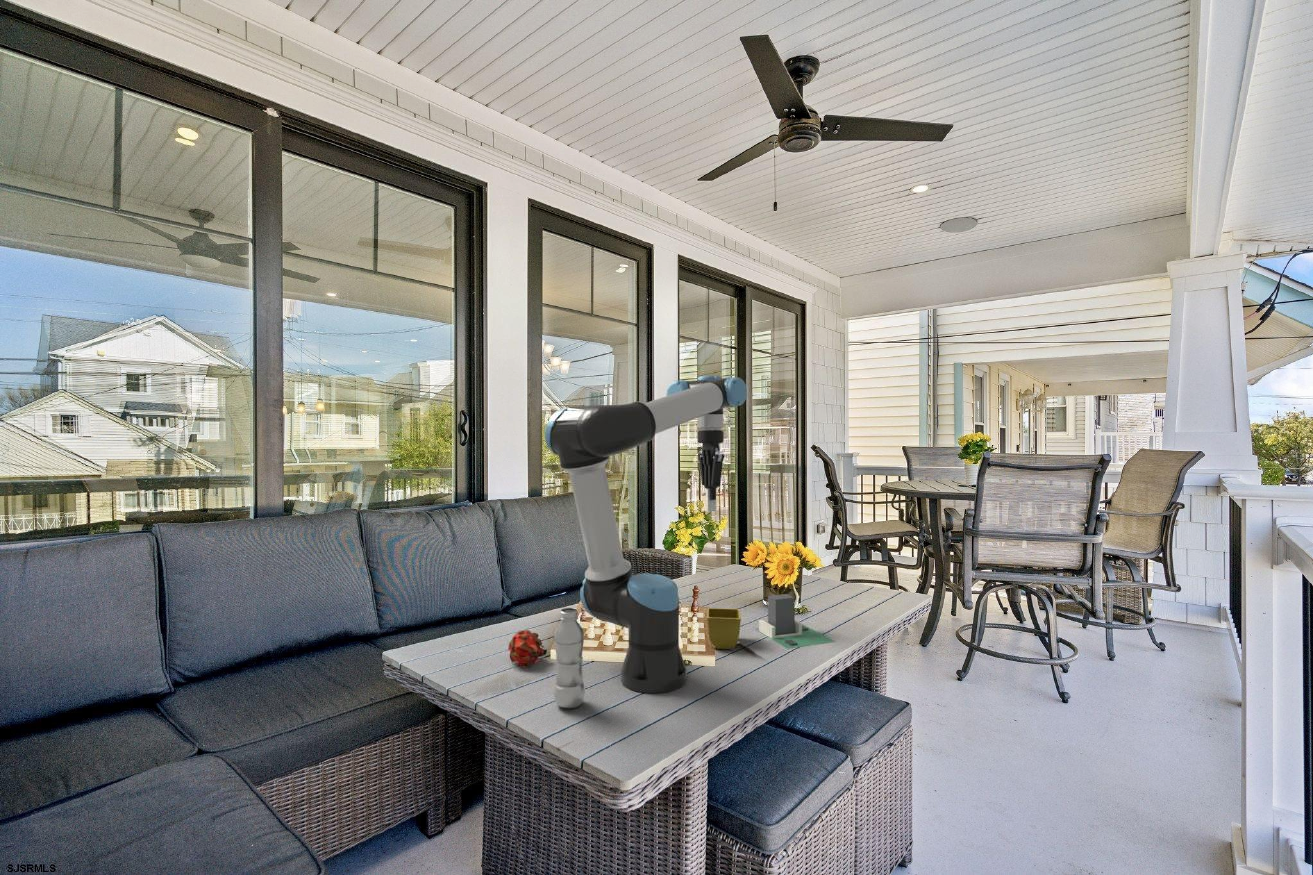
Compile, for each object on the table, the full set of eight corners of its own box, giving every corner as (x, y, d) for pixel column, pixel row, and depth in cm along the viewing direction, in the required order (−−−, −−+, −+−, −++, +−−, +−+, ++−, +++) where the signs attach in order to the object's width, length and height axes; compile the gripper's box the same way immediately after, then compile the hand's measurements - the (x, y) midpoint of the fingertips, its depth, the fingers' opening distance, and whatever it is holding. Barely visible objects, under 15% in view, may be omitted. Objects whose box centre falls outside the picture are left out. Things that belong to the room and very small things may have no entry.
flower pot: (739, 641, 166) (739, 608, 166) (741, 652, 158) (741, 618, 158) (707, 640, 167) (707, 607, 167) (707, 651, 158) (706, 617, 158)
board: (787, 653, 157) (787, 636, 157) (754, 632, 173) (754, 618, 173) (836, 645, 162) (836, 630, 162) (799, 626, 178) (799, 612, 178)
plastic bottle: (558, 714, 123) (558, 616, 123) (550, 701, 130) (550, 607, 129) (589, 708, 126) (588, 612, 126) (579, 696, 132) (579, 604, 132)
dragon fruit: (519, 660, 157) (537, 682, 148) (494, 647, 153) (510, 669, 143) (539, 631, 159) (557, 651, 149) (514, 617, 155) (532, 637, 145)
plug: (775, 636, 167) (775, 599, 167) (768, 631, 170) (768, 596, 170) (796, 633, 169) (796, 597, 169) (788, 628, 173) (788, 593, 173)
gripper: (732, 429, 171) (732, 513, 171) (712, 429, 184) (713, 507, 184) (708, 429, 169) (708, 514, 169) (689, 429, 181) (690, 508, 181)
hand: (710, 510), depth 176 cm, fingers closed
